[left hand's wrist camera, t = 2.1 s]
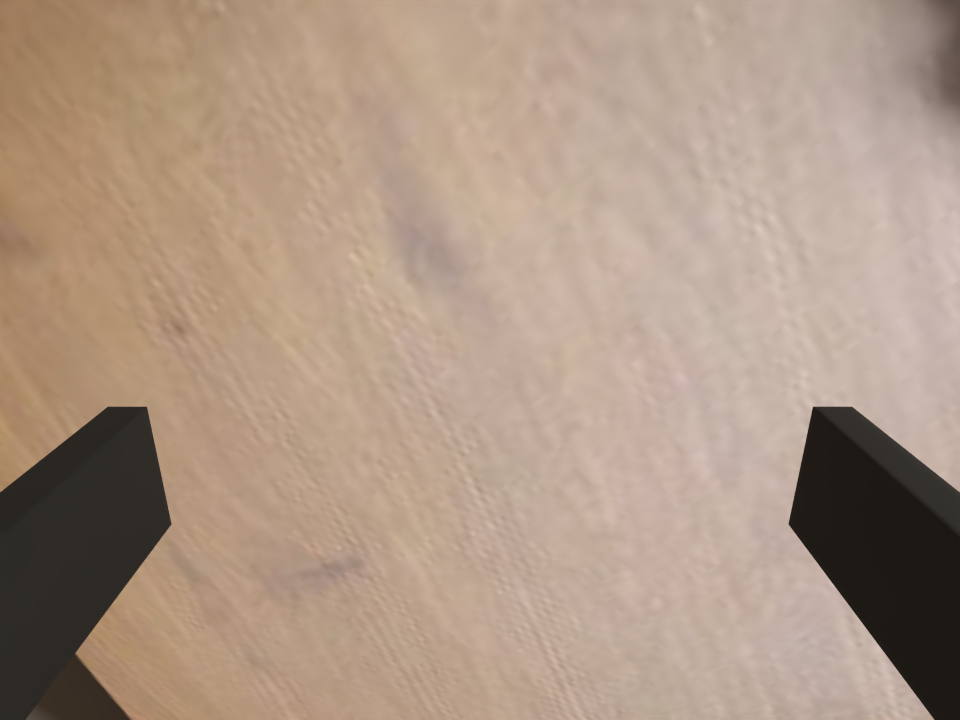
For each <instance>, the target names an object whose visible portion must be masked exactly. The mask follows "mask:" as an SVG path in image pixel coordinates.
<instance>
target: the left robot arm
mask: <svg viewBox="0 0 960 720" xmlns="http://www.w3.org/2000/svg"><path fill="white" fill-rule="evenodd" d="M170 525H171V520H170V515H169V510H168V506H167V501H166V496H165V491H164V486H163V482H162V477H161V472H160V467H159V462H158V458H157V453H156V448H155V443H154V439H153V434H152V429H151V424H150V419H149V415H148V410H147V407H107V408H106V409H105V410H103V411H102V412H101V413H100V414H98V415H97V416H96V417H95V418H93V419H92V420H91V421H90V422H88V423H87V424H86V425H85V426H83V427H82V428H81V429H80V430H78V431H77V432H76V433H74V434H73V435H72V436H71V437H69V438H68V439H67V440H66V441H64V442H63V443H62V444H61V445H59V446H58V447H57V448H56V449H54V450H53V451H52V452H51V453H49V454H48V455H47V456H46V457H44V458H43V459H42V460H41V461H39V462H38V463H37V464H36V465H34V466H33V467H32V468H30V469H29V470H28V471H27V472H25V473H24V474H23V475H22V476H20V477H19V478H18V479H17V480H15V481H14V482H13V483H12V484H10V485H9V486H8V487H7V488H5V489H4V490H3V491H2V492H0V720H26V718H27V717H28V716H29V714H30V713H31V711H32V710H33V709H34V708H35V706H36V705H37V704H38V702H39V701H40V699H41V698H42V697H43V695H44V694H45V693H46V691H47V690H48V689H49V687H50V686H51V685H52V683H53V682H54V681H55V679H56V678H57V677H58V675H59V674H60V673H61V671H62V670H63V669H64V667H65V666H66V665H67V663H68V662H69V661H70V659H71V658H72V657H73V655H74V654H75V653H76V651H77V650H78V649H79V647H80V646H81V645H82V643H83V642H84V641H85V639H86V638H87V637H88V635H89V634H90V633H91V631H92V630H93V629H94V627H95V626H96V624H97V623H98V622H99V620H100V619H101V618H102V616H103V615H104V614H105V612H106V611H107V610H108V608H109V607H110V606H111V604H112V603H113V602H114V600H115V599H116V598H117V596H118V595H119V594H120V592H121V591H122V590H123V588H124V587H125V586H126V584H127V583H128V582H129V580H130V579H131V578H132V576H133V575H134V574H135V572H136V571H137V570H138V568H139V567H140V566H141V564H142V563H143V562H144V560H145V559H146V558H147V556H148V555H149V554H150V552H151V551H152V549H153V548H154V547H155V545H156V544H157V543H158V541H159V540H160V539H161V537H162V536H163V535H164V533H165V532H166V531H167V529H168V528H169V527H170ZM789 525H790V527H791V528H792V529H793V531H794V532H795V533H796V535H797V536H798V537H799V539H800V540H801V541H802V543H803V544H804V545H805V547H806V548H807V549H808V551H809V552H810V554H811V555H812V556H813V558H814V559H815V560H816V562H817V563H818V564H819V566H820V567H821V568H822V570H823V571H824V572H825V574H826V575H827V576H828V578H829V579H830V580H831V582H832V583H833V584H834V586H835V587H836V588H837V590H838V591H839V592H840V594H841V595H842V596H843V598H844V599H845V600H846V602H847V603H848V604H849V606H850V607H851V608H852V610H853V611H854V612H855V614H856V615H857V616H858V618H859V619H860V620H861V622H862V623H863V624H864V626H865V627H866V629H867V630H868V631H869V633H870V634H871V635H872V637H873V638H874V639H875V641H876V642H877V643H878V645H879V646H880V647H881V649H882V650H883V651H884V653H885V654H886V655H887V657H888V658H889V659H890V661H891V662H892V663H893V665H894V666H895V667H896V669H897V670H898V671H899V673H900V674H901V675H902V677H903V678H904V679H905V681H906V682H907V683H908V685H909V686H910V687H911V689H912V690H913V691H914V693H915V694H916V695H917V697H918V698H919V699H920V701H921V702H922V704H923V705H924V706H925V708H926V709H927V710H928V712H929V713H930V714H931V716H932V717H933V718H934V720H960V492H958V491H957V490H956V489H955V488H953V487H952V486H951V485H950V484H948V483H947V482H946V481H945V480H943V479H942V478H941V477H940V476H938V475H937V474H936V473H935V472H933V471H932V470H931V469H930V468H928V467H927V466H926V465H924V464H923V463H922V462H921V461H919V460H918V459H917V458H916V457H914V456H913V455H912V454H911V453H909V452H908V451H907V450H906V449H904V448H903V447H902V446H901V445H899V444H898V443H897V442H896V441H894V440H893V439H892V438H891V437H889V436H888V435H887V434H886V433H884V432H883V431H882V430H880V429H879V428H878V427H877V426H875V425H874V424H873V423H872V422H870V421H869V420H868V419H867V418H865V417H864V416H863V415H862V414H860V413H859V412H858V411H857V410H855V409H854V408H853V407H813V410H812V415H811V419H810V424H809V429H808V434H807V439H806V443H805V448H804V453H803V458H802V462H801V467H800V472H799V477H798V482H797V486H796V491H795V496H794V501H793V506H792V510H791V515H790V520H789Z"/></svg>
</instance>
